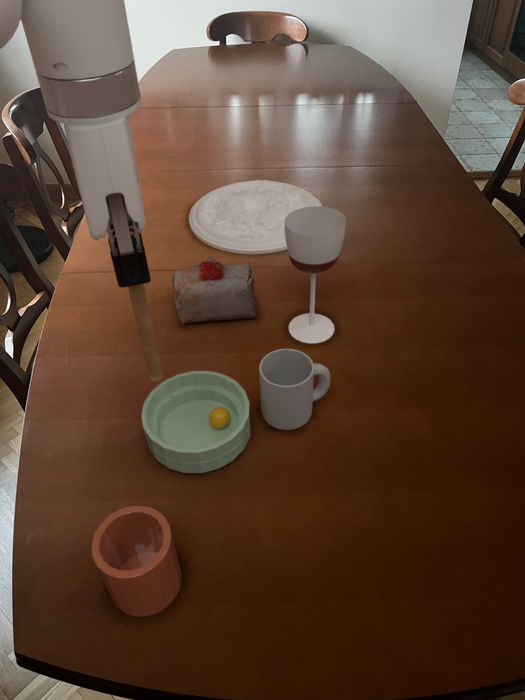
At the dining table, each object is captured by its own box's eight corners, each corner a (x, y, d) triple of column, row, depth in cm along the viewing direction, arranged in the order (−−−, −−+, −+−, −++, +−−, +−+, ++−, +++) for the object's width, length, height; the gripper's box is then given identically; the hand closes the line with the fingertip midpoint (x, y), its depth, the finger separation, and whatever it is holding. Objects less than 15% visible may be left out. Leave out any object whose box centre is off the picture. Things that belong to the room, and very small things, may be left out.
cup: (254, 400, 85) (252, 355, 79) (319, 383, 87) (321, 339, 81) (270, 437, 80) (269, 393, 74) (338, 418, 82) (342, 374, 76)
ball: (212, 435, 80) (210, 421, 78) (207, 419, 82) (205, 405, 80) (233, 430, 81) (232, 416, 79) (228, 414, 83) (226, 400, 81)
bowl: (156, 487, 75) (149, 464, 72) (141, 407, 85) (135, 383, 82) (263, 460, 78) (262, 436, 74) (236, 385, 88) (234, 361, 84)
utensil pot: (113, 626, 63) (94, 587, 56) (106, 558, 68) (88, 516, 62) (187, 604, 64) (177, 564, 58) (175, 539, 70) (164, 497, 64)
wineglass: (280, 316, 99) (279, 210, 85) (330, 309, 100) (337, 203, 86) (290, 347, 93) (291, 239, 80) (343, 340, 94) (353, 231, 81)
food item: (175, 330, 97) (167, 282, 91) (176, 300, 103) (168, 253, 96) (257, 323, 98) (255, 275, 91) (254, 294, 104) (251, 246, 97)
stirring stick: (150, 383, 69) (115, 234, 55) (148, 373, 70) (113, 225, 56) (164, 379, 69) (132, 231, 55) (162, 370, 70) (130, 223, 56)
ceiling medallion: (352, 218, 121) (353, 204, 119) (245, 272, 109) (244, 257, 107) (265, 172, 137) (264, 159, 135) (163, 214, 125) (161, 200, 123)
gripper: (42, 63, 52) (91, 242, 64) (42, 134, 41) (101, 334, 53) (127, 53, 53) (159, 231, 66) (151, 119, 42) (183, 317, 54)
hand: (133, 276), depth 59 cm, fingers closed on stirring stick
